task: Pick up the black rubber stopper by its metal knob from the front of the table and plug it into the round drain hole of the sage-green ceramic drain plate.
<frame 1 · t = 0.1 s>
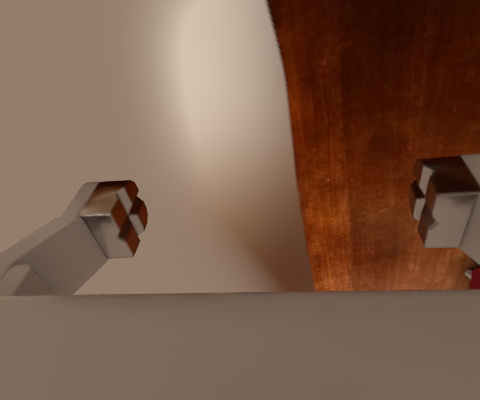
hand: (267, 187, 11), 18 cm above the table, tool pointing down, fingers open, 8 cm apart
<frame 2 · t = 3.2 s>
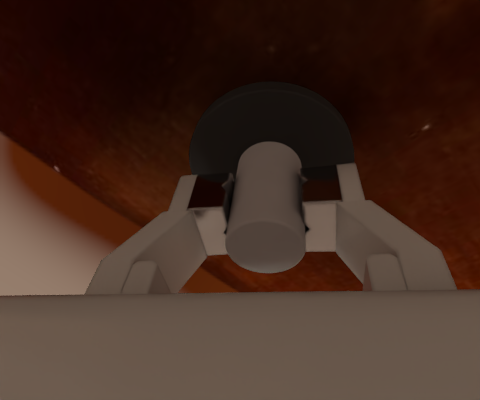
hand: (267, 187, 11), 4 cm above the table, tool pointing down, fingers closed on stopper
stopper: (271, 126, 13), on the table, touching gripper
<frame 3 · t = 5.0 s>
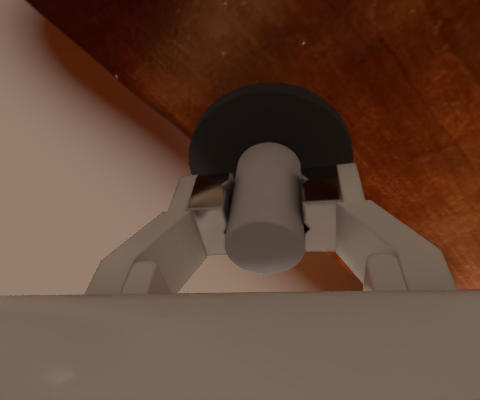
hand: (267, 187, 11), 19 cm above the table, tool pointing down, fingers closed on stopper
stopper: (271, 126, 13), point 16 cm above the table, touching gripper
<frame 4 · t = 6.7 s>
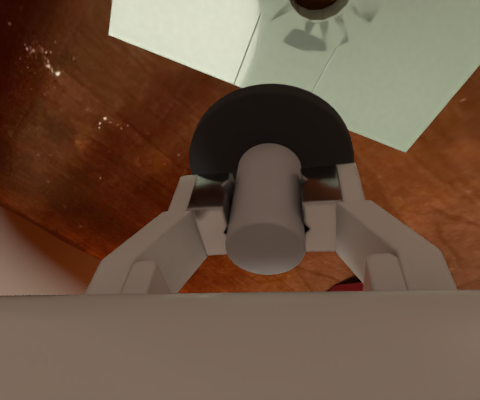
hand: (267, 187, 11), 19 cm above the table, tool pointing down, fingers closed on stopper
stopper: (271, 127, 13), point 16 cm above the table, touching gripper
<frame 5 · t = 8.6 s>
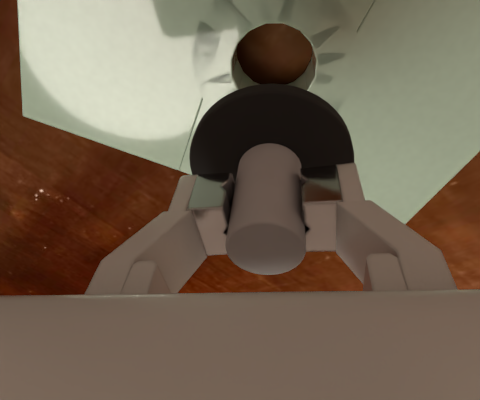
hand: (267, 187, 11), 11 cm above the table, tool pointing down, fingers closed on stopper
drain plate: (274, 50, 19), on the table
stopper: (272, 127, 13), point 8 cm above the table, touching gripper
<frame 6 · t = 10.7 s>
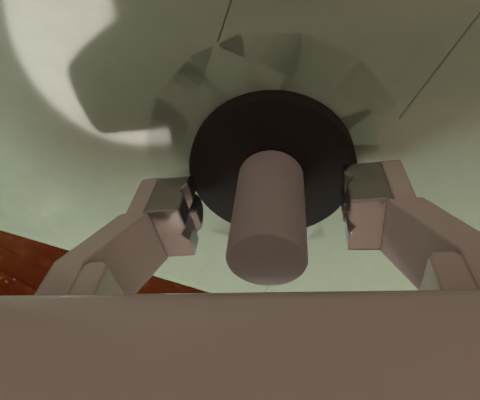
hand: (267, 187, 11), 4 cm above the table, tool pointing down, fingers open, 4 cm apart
drain plate: (271, 123, 13), on the table
stopper: (273, 133, 13), resting in drain plate
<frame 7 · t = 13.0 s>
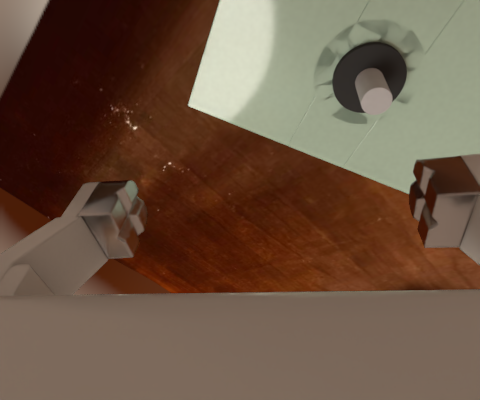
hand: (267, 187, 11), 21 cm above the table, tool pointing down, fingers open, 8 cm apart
drain plate: (362, 64, 29), on the table
stopper: (364, 67, 28), resting in drain plate
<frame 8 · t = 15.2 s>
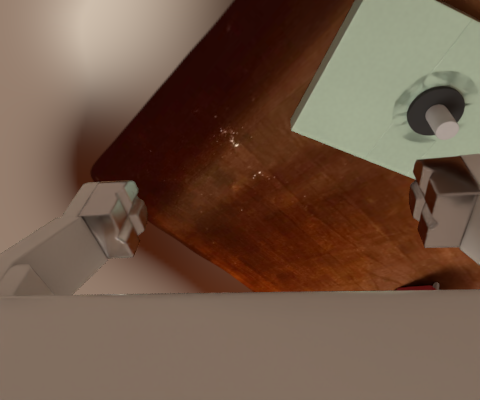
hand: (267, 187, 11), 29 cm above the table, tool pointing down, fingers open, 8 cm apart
drain plate: (426, 98, 38), on the table
stopper: (428, 101, 38), resting in drain plate
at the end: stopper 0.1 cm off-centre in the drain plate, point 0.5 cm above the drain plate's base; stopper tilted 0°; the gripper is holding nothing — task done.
